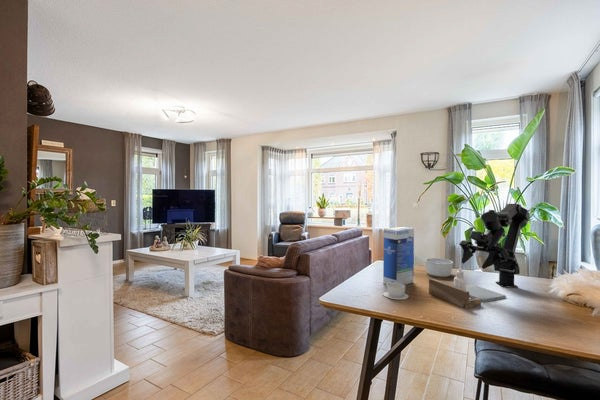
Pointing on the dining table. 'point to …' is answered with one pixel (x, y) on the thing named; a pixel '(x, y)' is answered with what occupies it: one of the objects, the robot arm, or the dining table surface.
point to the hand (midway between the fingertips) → (472, 265)
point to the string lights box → (398, 255)
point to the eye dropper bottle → (459, 280)
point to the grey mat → (483, 294)
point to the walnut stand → (452, 294)
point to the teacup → (395, 291)
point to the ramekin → (438, 267)
